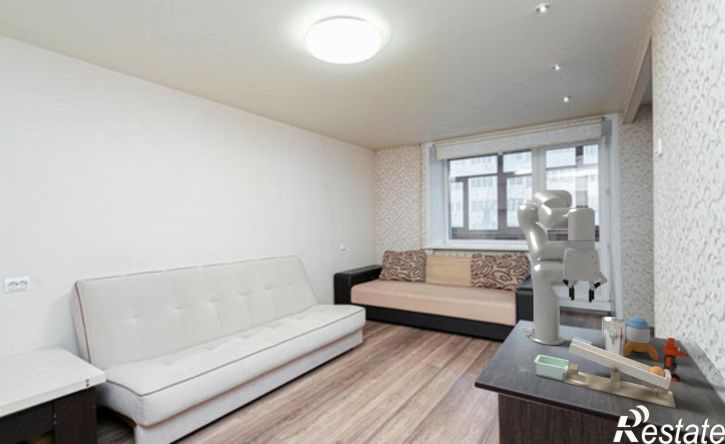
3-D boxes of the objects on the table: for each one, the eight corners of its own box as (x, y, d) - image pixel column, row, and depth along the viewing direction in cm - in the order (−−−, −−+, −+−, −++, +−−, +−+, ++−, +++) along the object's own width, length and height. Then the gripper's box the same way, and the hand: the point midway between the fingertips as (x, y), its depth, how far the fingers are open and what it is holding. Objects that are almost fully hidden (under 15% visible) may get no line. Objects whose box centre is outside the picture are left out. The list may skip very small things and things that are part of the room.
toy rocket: (626, 351, 137) (637, 314, 136) (660, 365, 128) (671, 325, 127) (615, 353, 132) (625, 314, 130) (649, 368, 123) (661, 326, 122)
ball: (649, 377, 100) (651, 366, 100) (649, 373, 103) (651, 362, 102) (664, 382, 98) (666, 371, 98) (663, 378, 101) (665, 367, 100)
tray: (533, 374, 116) (533, 362, 116) (538, 366, 122) (538, 354, 122) (565, 381, 110) (565, 368, 110) (568, 372, 117) (568, 360, 117)
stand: (563, 382, 110) (563, 357, 110) (567, 371, 118) (567, 348, 118) (675, 408, 94) (675, 380, 94) (671, 393, 102) (671, 367, 102)
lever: (566, 357, 111) (570, 341, 110) (572, 343, 122) (576, 329, 122) (666, 395, 97) (671, 378, 96) (661, 376, 109) (666, 360, 108)
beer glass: (630, 366, 121) (630, 322, 121) (607, 365, 122) (607, 321, 122) (619, 358, 128) (619, 316, 128) (598, 357, 129) (598, 316, 129)
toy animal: (686, 386, 107) (686, 346, 107) (662, 380, 111) (662, 341, 111) (688, 377, 112) (688, 339, 112) (666, 372, 116) (666, 335, 116)
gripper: (550, 245, 120) (550, 299, 120) (612, 247, 110) (612, 306, 110) (554, 243, 126) (554, 295, 126) (613, 245, 116) (613, 302, 116)
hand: (581, 300), depth 118 cm, fingers open, 4 cm apart
